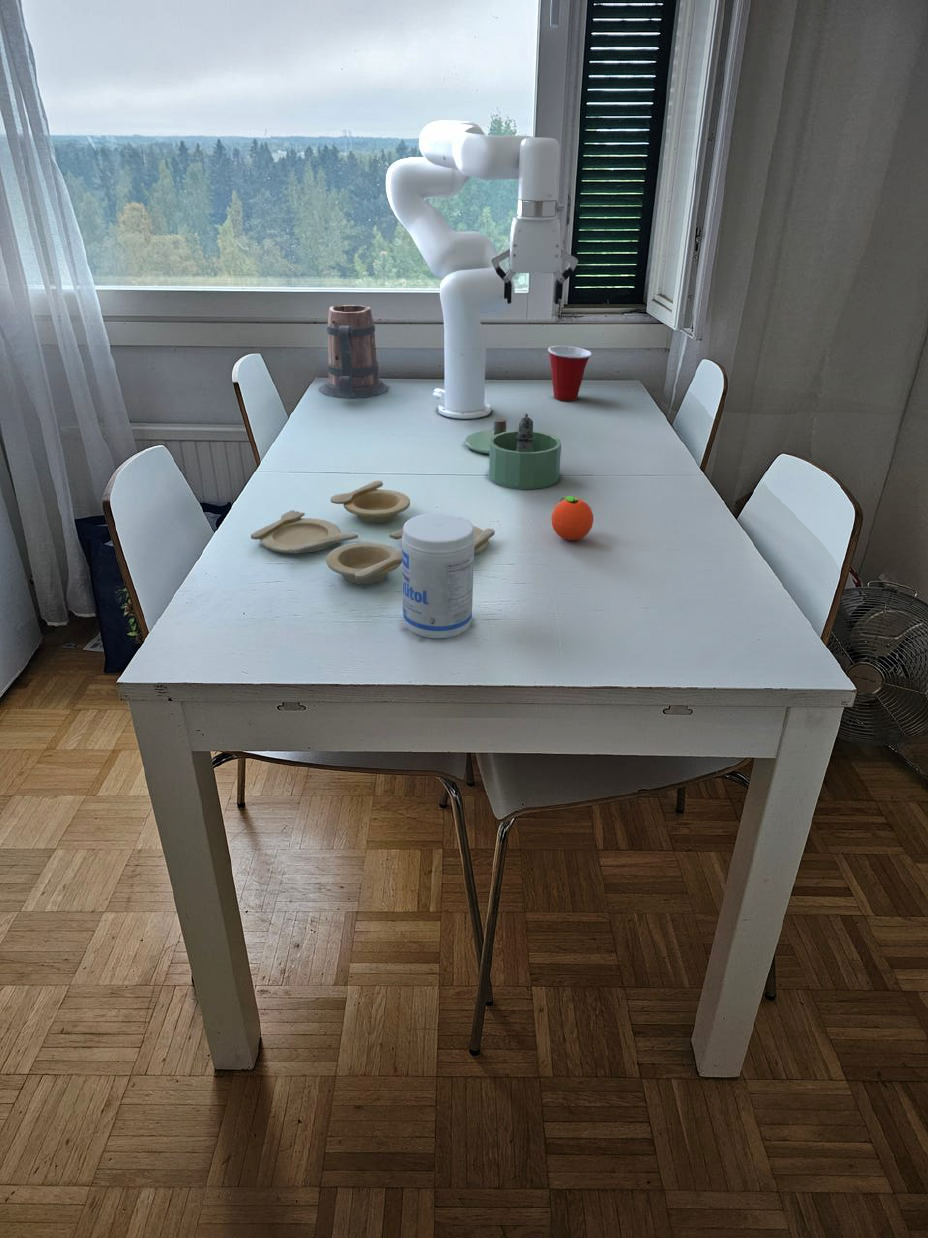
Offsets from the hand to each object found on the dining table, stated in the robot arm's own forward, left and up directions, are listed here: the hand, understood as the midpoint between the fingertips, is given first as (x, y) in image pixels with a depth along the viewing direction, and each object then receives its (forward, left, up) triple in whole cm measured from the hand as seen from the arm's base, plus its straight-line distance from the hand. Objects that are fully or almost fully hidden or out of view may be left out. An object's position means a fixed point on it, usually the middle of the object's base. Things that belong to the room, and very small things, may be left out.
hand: (532, 302), depth 177 cm
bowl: (+12, -21, -28) cm, 37 cm away
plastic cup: (-8, +33, -28) cm, 44 cm away
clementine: (+33, -41, -28) cm, 60 cm away
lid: (-2, -8, -28) cm, 29 cm away
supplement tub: (+32, -77, -28) cm, 88 cm away
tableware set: (+8, -62, -28) cm, 69 cm away
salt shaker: (+12, -21, -28) cm, 37 cm away
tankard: (-55, +5, -28) cm, 62 cm away
